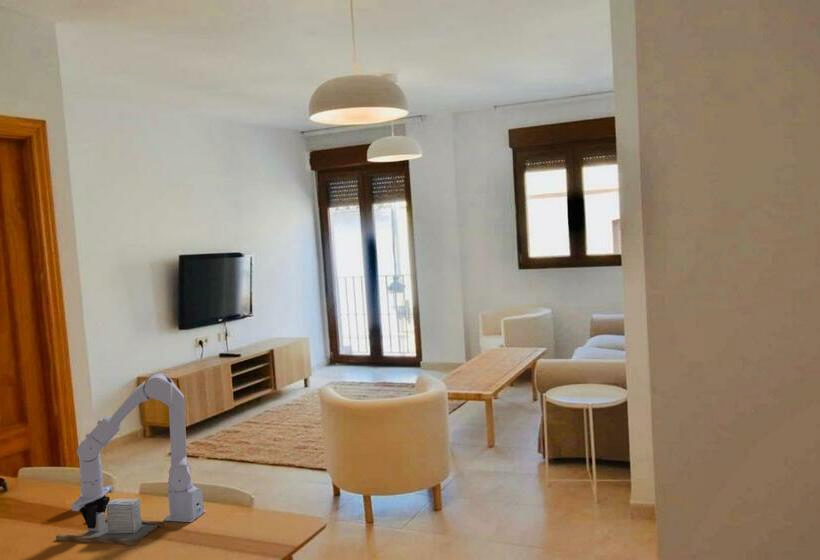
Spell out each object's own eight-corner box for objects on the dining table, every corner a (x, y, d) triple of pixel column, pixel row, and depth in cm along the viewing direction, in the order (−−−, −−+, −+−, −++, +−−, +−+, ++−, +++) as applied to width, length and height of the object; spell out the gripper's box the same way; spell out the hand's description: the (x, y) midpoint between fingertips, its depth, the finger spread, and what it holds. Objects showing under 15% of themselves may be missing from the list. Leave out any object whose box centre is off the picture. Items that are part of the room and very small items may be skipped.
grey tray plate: (156, 528, 186) (154, 510, 186) (135, 542, 178) (134, 523, 177) (102, 524, 191) (100, 507, 191) (79, 538, 182) (78, 520, 182)
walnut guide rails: (163, 525, 188) (163, 521, 188) (135, 545, 176) (135, 541, 176) (88, 521, 194) (88, 517, 194) (56, 540, 182) (55, 535, 182)
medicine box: (142, 527, 186) (140, 498, 185) (134, 534, 181) (132, 504, 181) (116, 527, 186) (114, 498, 186) (107, 534, 182) (105, 504, 181)
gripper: (97, 470, 193) (101, 514, 194) (61, 488, 179) (64, 535, 180) (117, 471, 192) (121, 515, 192) (82, 489, 178) (86, 537, 178)
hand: (95, 525), depth 186 cm, fingers closed on grey tray plate, 2 cm apart
